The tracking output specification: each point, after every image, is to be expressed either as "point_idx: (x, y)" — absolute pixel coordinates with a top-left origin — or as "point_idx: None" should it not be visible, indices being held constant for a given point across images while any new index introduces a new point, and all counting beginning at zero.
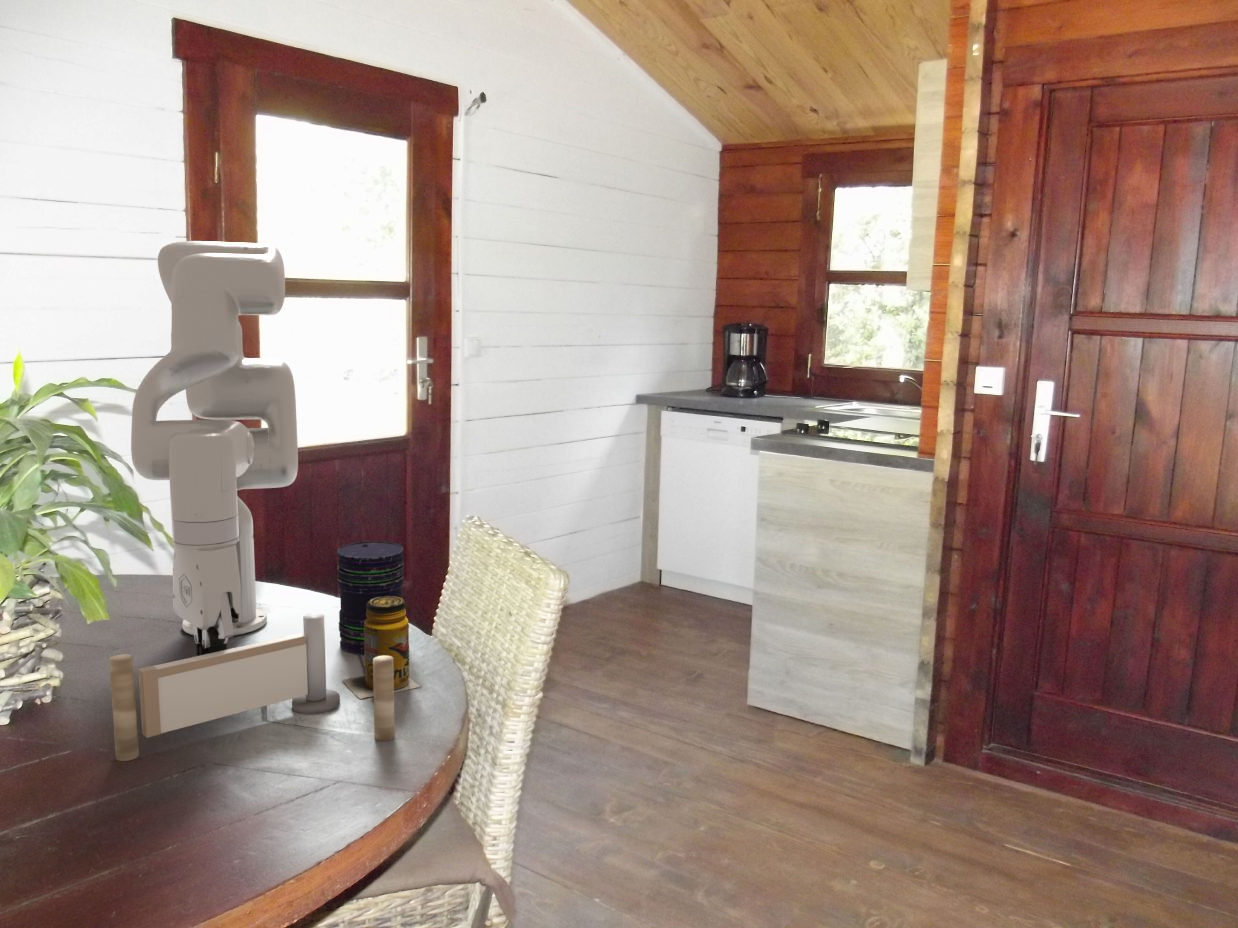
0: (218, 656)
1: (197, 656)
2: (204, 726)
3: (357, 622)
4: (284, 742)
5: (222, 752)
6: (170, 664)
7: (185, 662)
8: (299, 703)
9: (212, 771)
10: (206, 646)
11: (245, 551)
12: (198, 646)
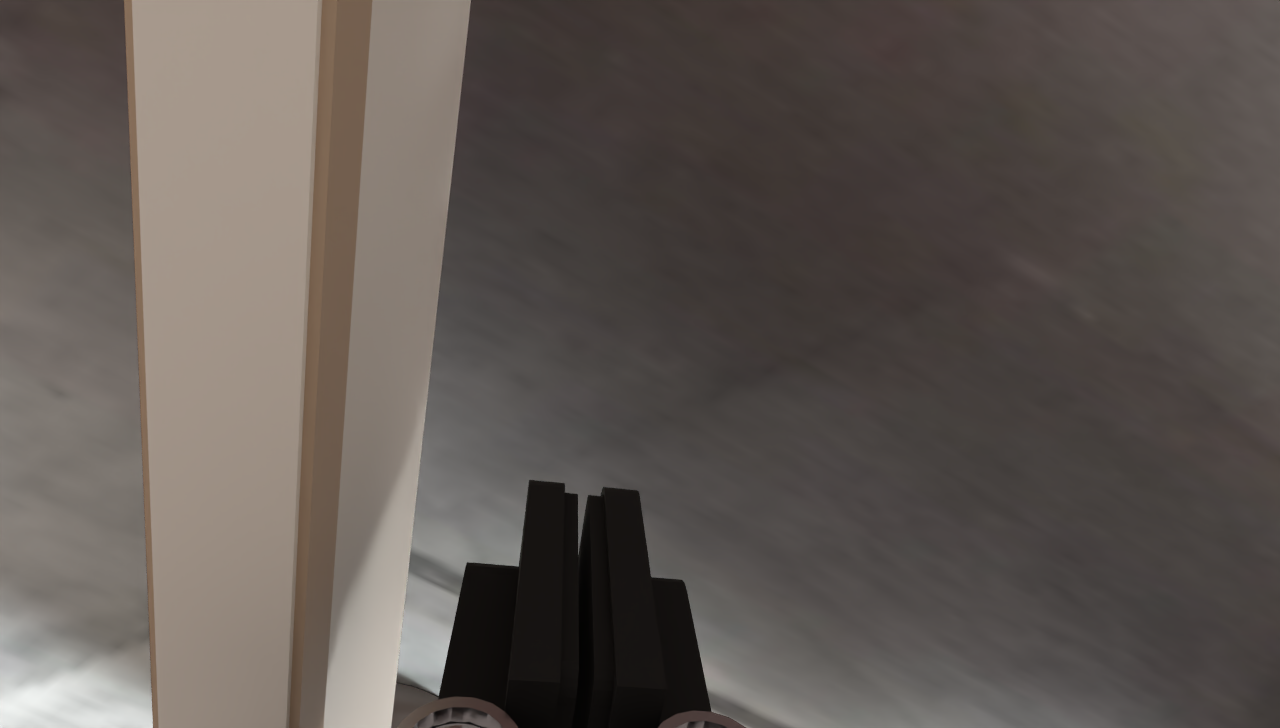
0: (152, 684)
1: (284, 533)
2: (542, 320)
3: None
4: (42, 478)
5: (126, 201)
6: (207, 135)
7: (145, 325)
8: None
9: None
10: (404, 725)
11: None
12: (610, 682)
